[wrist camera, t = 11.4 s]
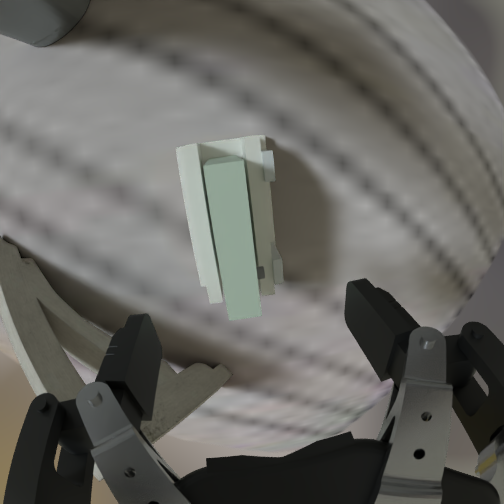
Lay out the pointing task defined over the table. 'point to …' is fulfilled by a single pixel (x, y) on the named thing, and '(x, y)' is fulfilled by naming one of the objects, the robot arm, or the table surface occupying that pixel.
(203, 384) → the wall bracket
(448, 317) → the table surface
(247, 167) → the rail
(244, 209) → the tapered block
